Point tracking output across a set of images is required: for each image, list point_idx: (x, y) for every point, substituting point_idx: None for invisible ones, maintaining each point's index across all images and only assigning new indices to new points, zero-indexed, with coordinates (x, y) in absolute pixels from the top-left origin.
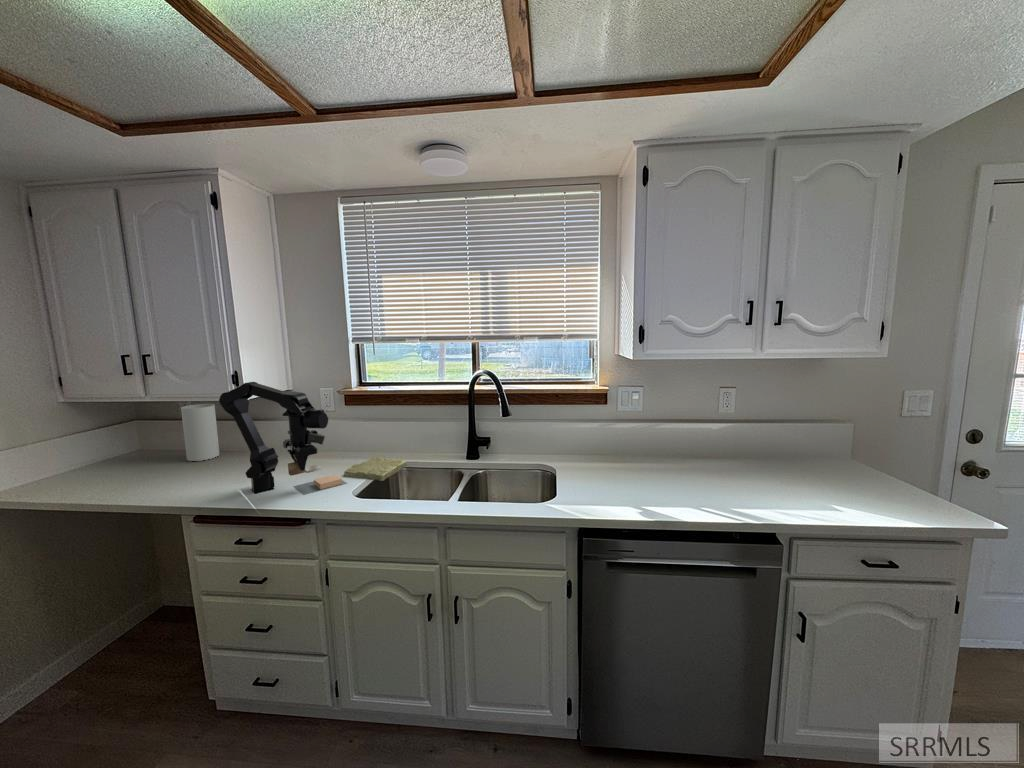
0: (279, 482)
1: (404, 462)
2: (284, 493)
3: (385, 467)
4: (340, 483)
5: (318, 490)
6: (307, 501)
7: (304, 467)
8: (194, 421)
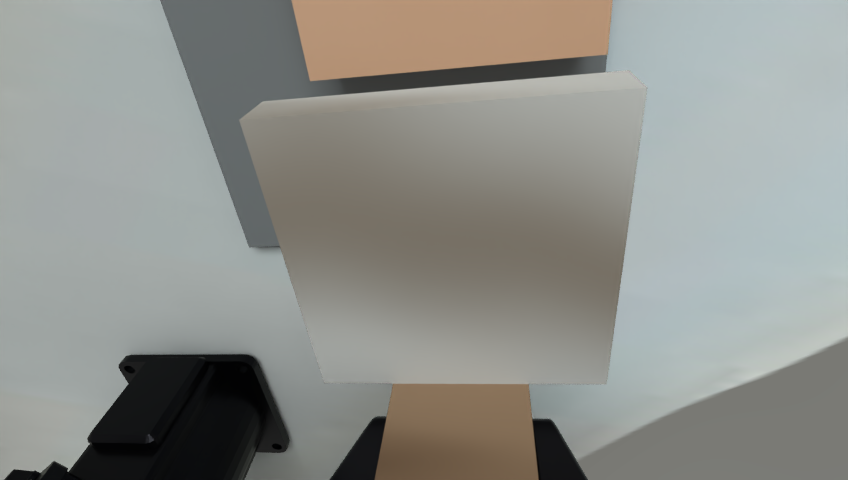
0: (50, 288)
1: None
2: None
3: None
4: None
5: (584, 67)
6: (769, 233)
7: (578, 471)
8: None
